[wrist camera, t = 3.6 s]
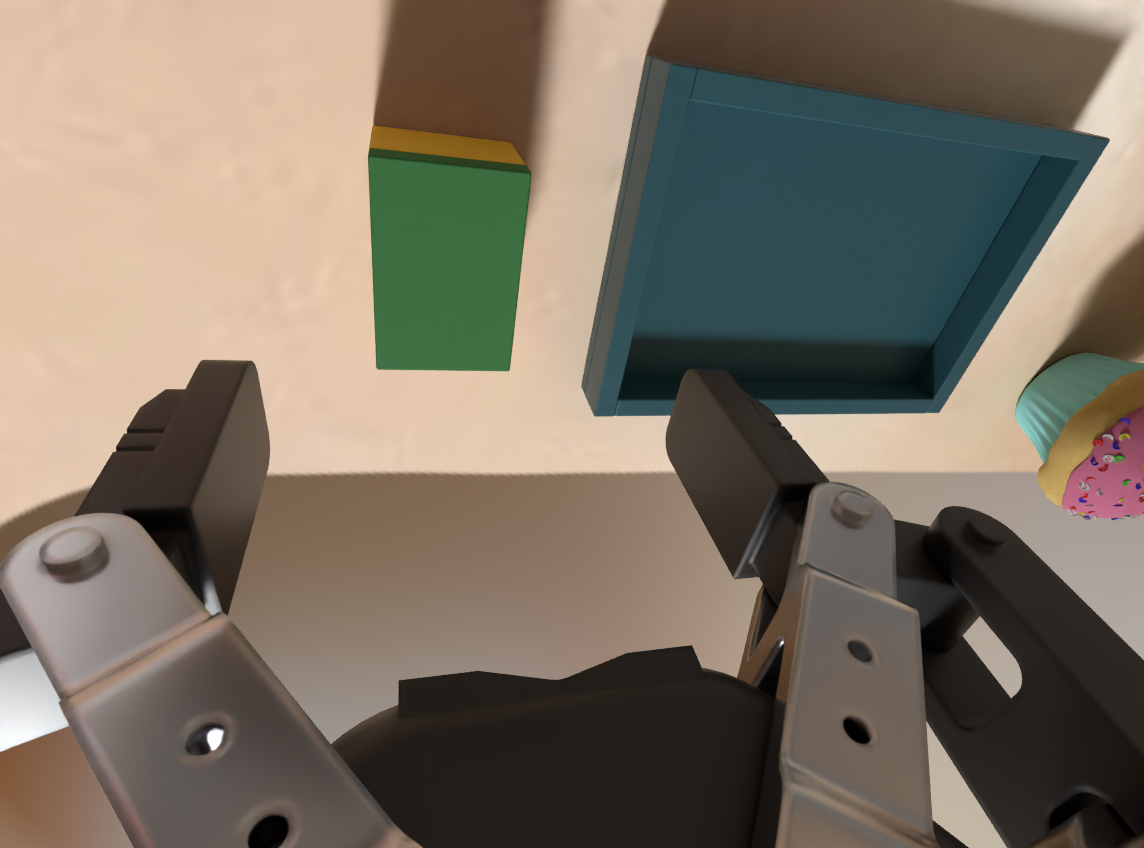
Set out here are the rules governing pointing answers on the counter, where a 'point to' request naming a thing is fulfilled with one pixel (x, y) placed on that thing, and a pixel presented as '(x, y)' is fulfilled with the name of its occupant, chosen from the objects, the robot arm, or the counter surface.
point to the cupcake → (1089, 434)
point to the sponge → (445, 249)
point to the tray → (816, 241)
